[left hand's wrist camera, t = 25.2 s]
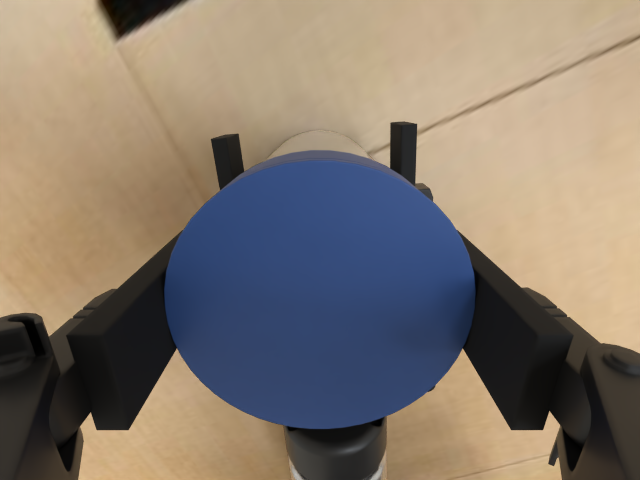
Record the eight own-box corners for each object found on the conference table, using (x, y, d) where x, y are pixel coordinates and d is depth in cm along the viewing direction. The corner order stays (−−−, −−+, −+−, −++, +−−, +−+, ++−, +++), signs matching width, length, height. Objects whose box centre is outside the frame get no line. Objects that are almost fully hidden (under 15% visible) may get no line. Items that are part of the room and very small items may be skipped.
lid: (405, 397, 14) (420, 446, 12) (182, 361, 13) (157, 407, 11) (489, 182, 11) (529, 200, 9) (201, 121, 10) (171, 124, 8)
